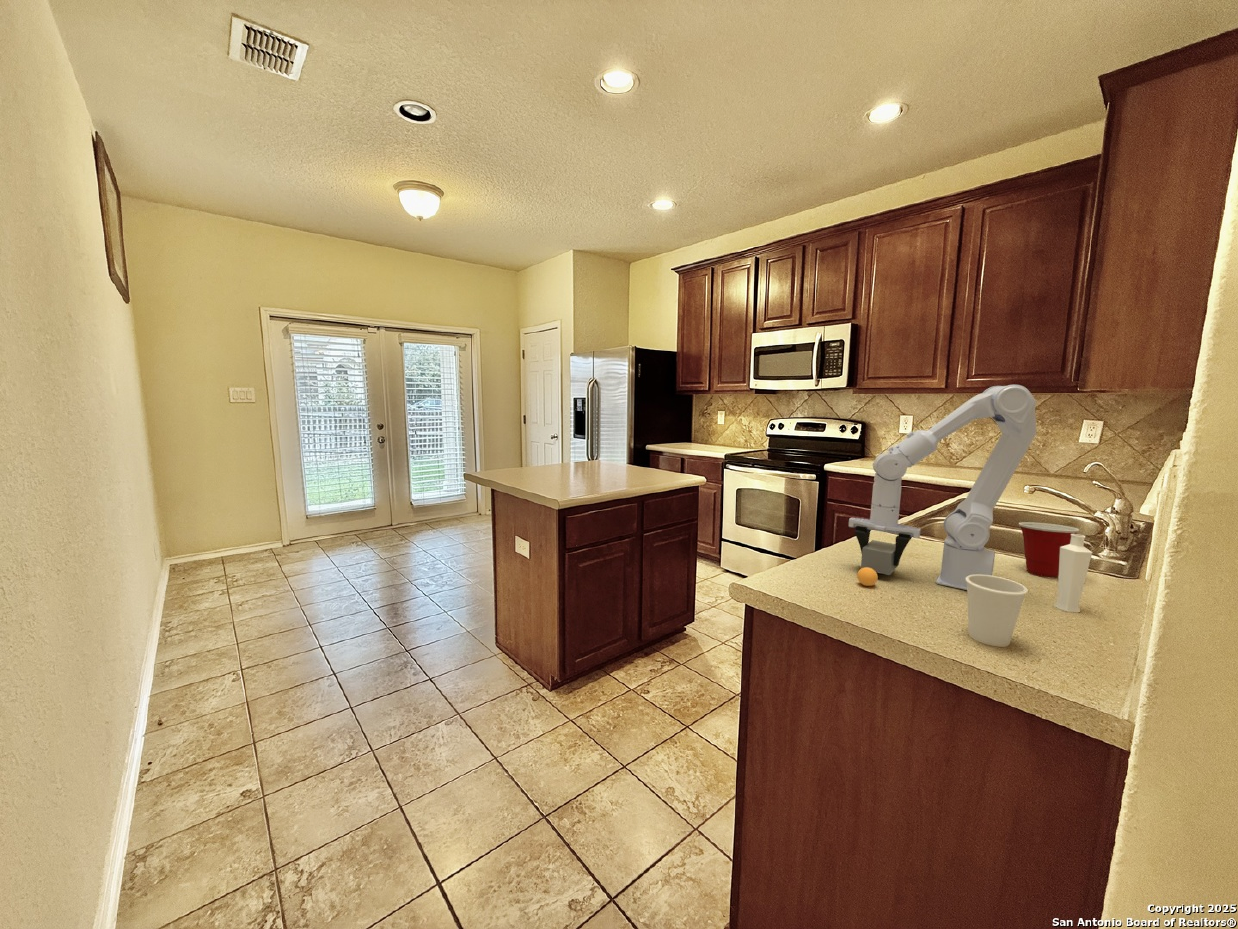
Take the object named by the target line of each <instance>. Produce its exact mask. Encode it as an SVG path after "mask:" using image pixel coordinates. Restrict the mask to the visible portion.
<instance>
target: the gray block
mask: <svg viewBox="0 0 1238 929" xmlns="http://www.w3.org/2000/svg"><path fill="white" fill-rule="evenodd" d="M895 547H896V543H889V542H886V541H885V542H884V541H879V540H874V539H873V540H871V541H869V543H868V544H867V545H866V546H864V547H863V549H862V553H861V561H860V569H862V568H865V567H868V568H872V569H873V570H874V571H875V572H876V573H877V574H883V575H887V576H891V575H892V573H893V572H894V571H895V570H896V569H897V568H898V566H899V565H898V566H894V557H895Z"/></svg>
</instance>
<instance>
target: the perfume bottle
mask: <svg viewBox="0 0 1238 929" xmlns="http://www.w3.org/2000/svg"><path fill="white" fill-rule="evenodd" d="M1085 538H1086V535H1084V534H1078V533H1077V534H1071V541H1070V544H1068V545H1065V546H1062V547H1060V559H1059V575H1058V579H1057V580H1058V584H1057V600H1056V601H1055V603H1054V605H1053V607H1054V608H1056V607H1057V608H1056V609H1059V610H1062V611H1063V612H1066V611H1067V612H1068V613H1078V612H1080V613H1081V610H1080V602H1081V597H1082V593H1083V590H1084V587H1085V582H1086V579H1087V575H1088V571H1089V567H1090V564H1091V559H1092V556H1093V551H1091V550H1089V549H1088V547H1087V548H1086V547H1085V546H1084V544H1085ZM1067 612H1066V613H1067Z"/></svg>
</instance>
